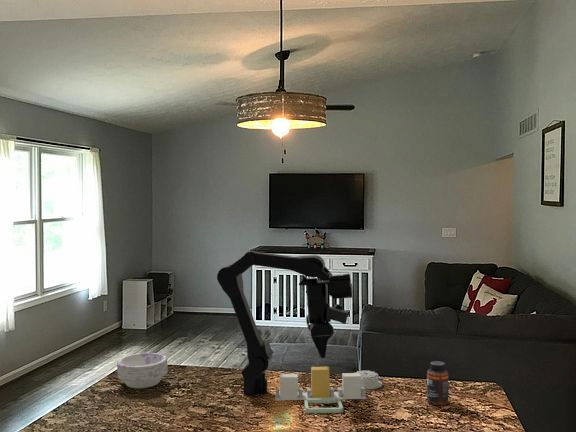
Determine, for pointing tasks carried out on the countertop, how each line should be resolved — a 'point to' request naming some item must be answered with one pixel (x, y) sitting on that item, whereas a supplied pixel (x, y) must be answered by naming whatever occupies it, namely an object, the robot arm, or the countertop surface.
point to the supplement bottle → (437, 384)
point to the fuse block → (308, 395)
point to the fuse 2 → (351, 385)
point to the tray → (324, 410)
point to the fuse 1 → (288, 385)
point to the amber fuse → (320, 382)
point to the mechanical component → (369, 379)
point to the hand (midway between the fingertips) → (321, 353)
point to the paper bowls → (142, 369)
